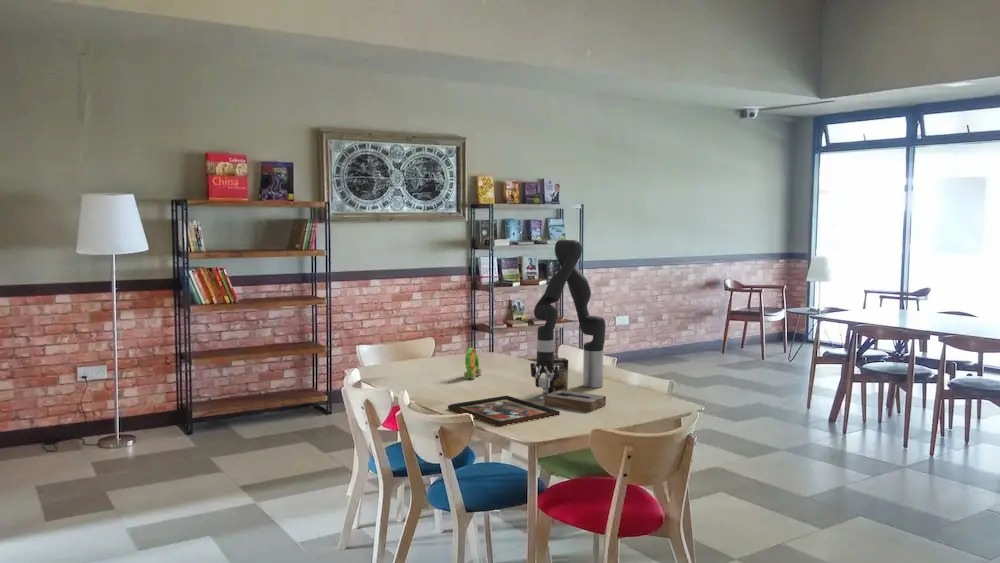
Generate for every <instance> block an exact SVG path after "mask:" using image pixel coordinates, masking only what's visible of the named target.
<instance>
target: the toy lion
mask: <svg viewBox="0 0 1000 563" xmlns="http://www.w3.org/2000/svg"><path fill="white" fill-rule="evenodd" d="M464 360H465V361H464V362H465V363H464V364H465V369H466V371H464V373H463V378H464V380H468V379H471V380H476V376H479V377H480V376H482V368H480V367H479V366H480V360H479V356H478V355H477V351H476V349H475V348H474V347H469V348H468V349H467V350H466V354H465V359H464Z"/></svg>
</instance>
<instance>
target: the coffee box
mask: <svg viewBox="0 0 1000 563" xmlns="http://www.w3.org/2000/svg"><path fill="white" fill-rule="evenodd" d="M553 363H554V365H556V366H560V373H559V379H556V380H555V387H554V388H553V389H550V387H549V388H547V394H550V393H553V392H556V391H559V390H565V391H569V390H568V384H569V359H567V358H564V357H563V358H562V357H560V358H559V357H557V358H555V357H554V361H553ZM552 370H553V372H555V370H554V368H553V369H552ZM544 377H549V376H548V375H547V374H546V373H545V376H544Z"/></svg>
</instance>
